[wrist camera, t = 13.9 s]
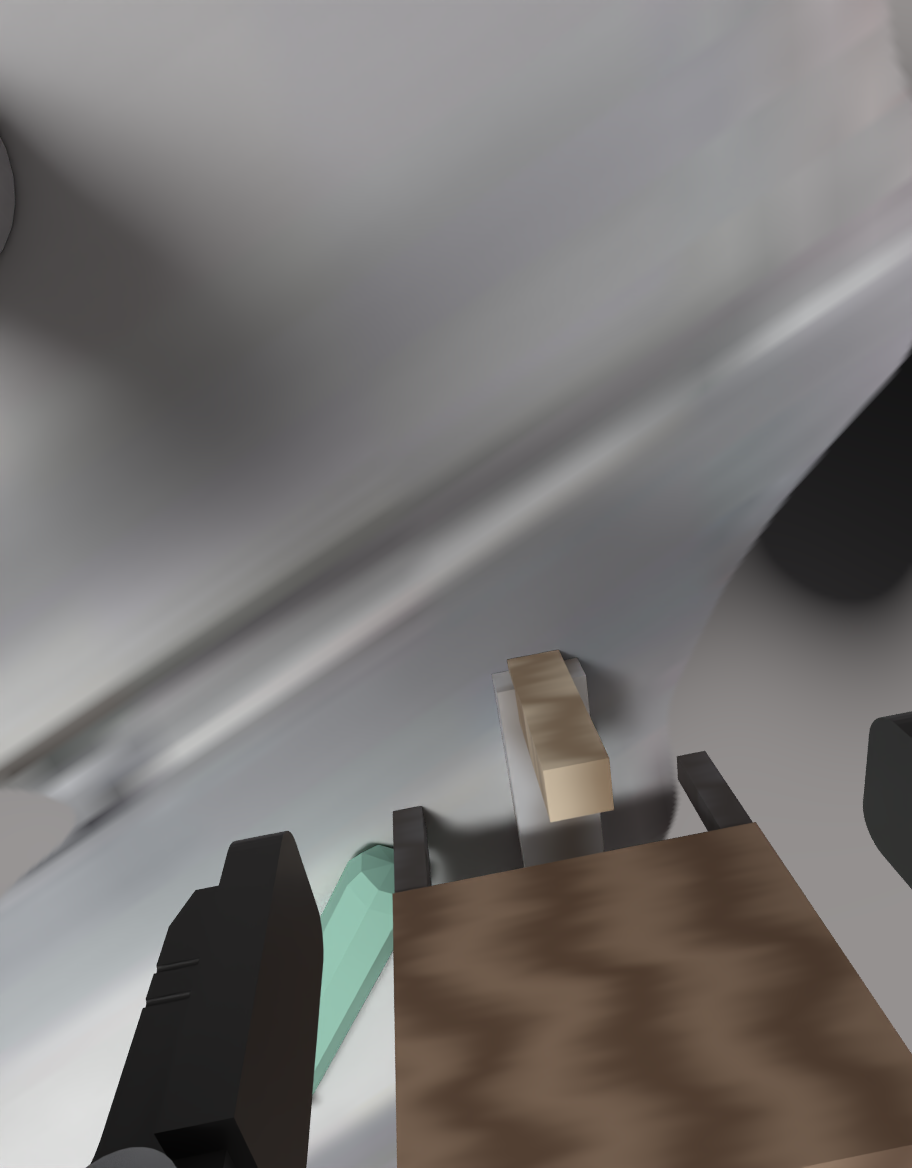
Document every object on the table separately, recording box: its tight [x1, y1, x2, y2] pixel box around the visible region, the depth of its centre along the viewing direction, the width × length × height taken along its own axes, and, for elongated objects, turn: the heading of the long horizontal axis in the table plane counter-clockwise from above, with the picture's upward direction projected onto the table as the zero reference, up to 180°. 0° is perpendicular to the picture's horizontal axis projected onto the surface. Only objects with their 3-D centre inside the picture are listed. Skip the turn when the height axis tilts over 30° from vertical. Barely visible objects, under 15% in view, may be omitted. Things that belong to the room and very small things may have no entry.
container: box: [312, 845, 395, 1096], centre depth 48 cm, size 6×6×25 cm
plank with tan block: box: [492, 650, 614, 868], centre depth 42 cm, size 5×25×10 cm, turn 9°
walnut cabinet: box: [392, 751, 912, 1168], centre depth 37 cm, size 20×10×22 cm, turn 99°
